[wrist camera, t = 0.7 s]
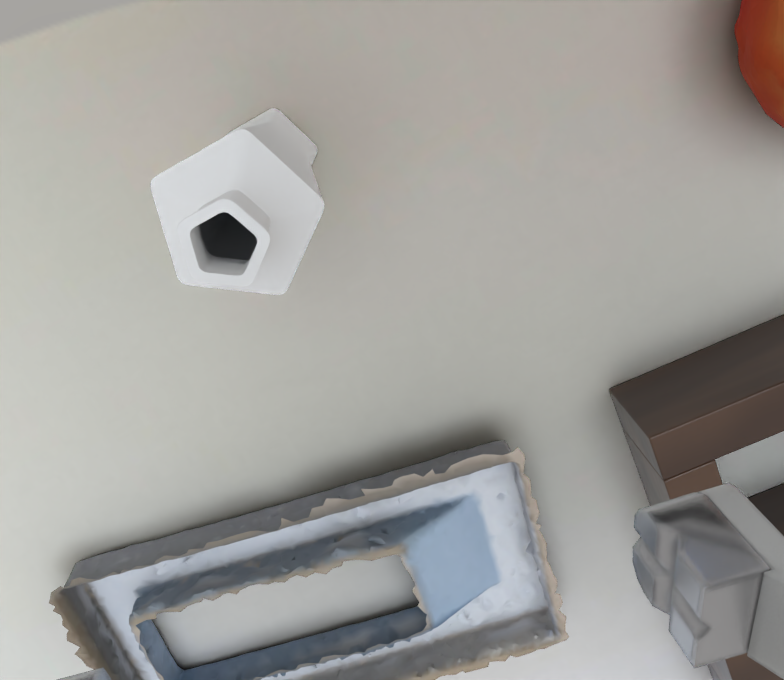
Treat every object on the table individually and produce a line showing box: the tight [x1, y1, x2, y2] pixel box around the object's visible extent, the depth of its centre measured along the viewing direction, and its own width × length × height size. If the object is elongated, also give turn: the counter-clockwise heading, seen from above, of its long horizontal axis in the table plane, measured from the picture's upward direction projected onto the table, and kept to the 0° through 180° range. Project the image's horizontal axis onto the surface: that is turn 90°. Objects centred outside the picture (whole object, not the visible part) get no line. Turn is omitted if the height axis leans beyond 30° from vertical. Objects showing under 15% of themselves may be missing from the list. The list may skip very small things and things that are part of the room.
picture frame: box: [49, 440, 569, 680], centre depth 38 cm, size 13×25×3 cm, turn 107°
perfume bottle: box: [150, 108, 325, 295], centre depth 24 cm, size 5×4×15 cm
